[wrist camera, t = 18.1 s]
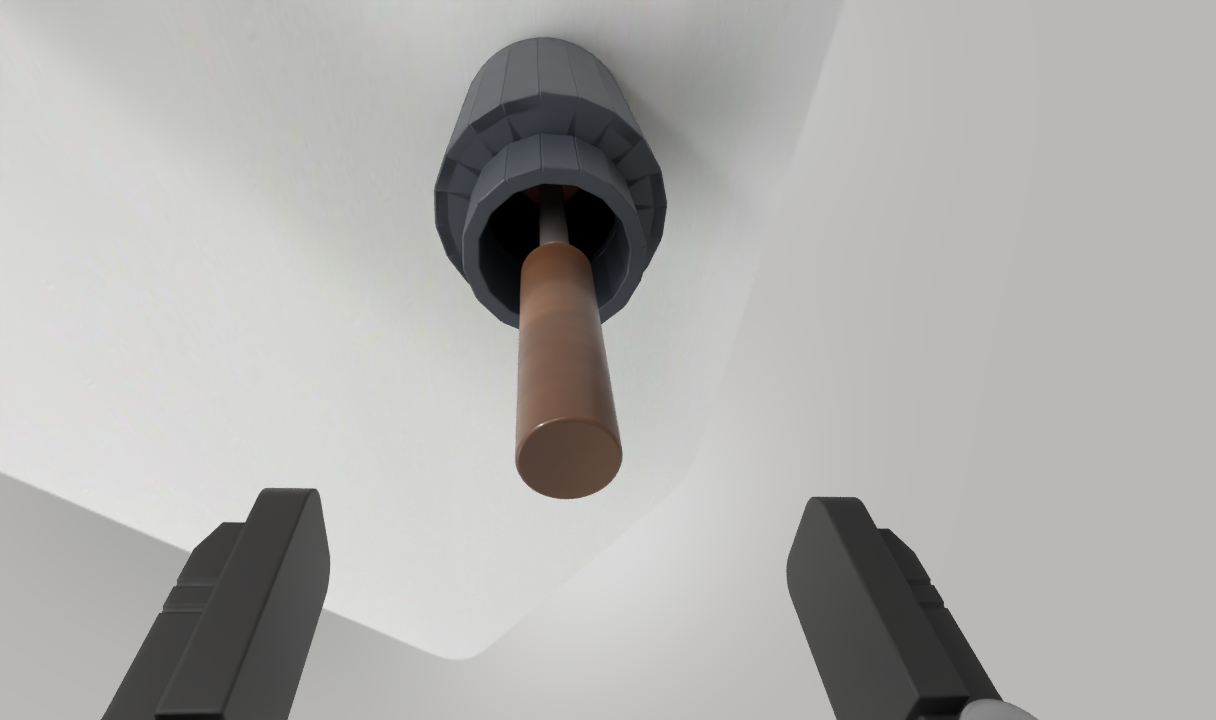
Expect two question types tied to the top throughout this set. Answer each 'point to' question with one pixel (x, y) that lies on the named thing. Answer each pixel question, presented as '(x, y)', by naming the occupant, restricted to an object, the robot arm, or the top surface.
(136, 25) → the top surface
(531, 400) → the bottle brush
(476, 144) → the steel bottle
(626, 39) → the top surface
